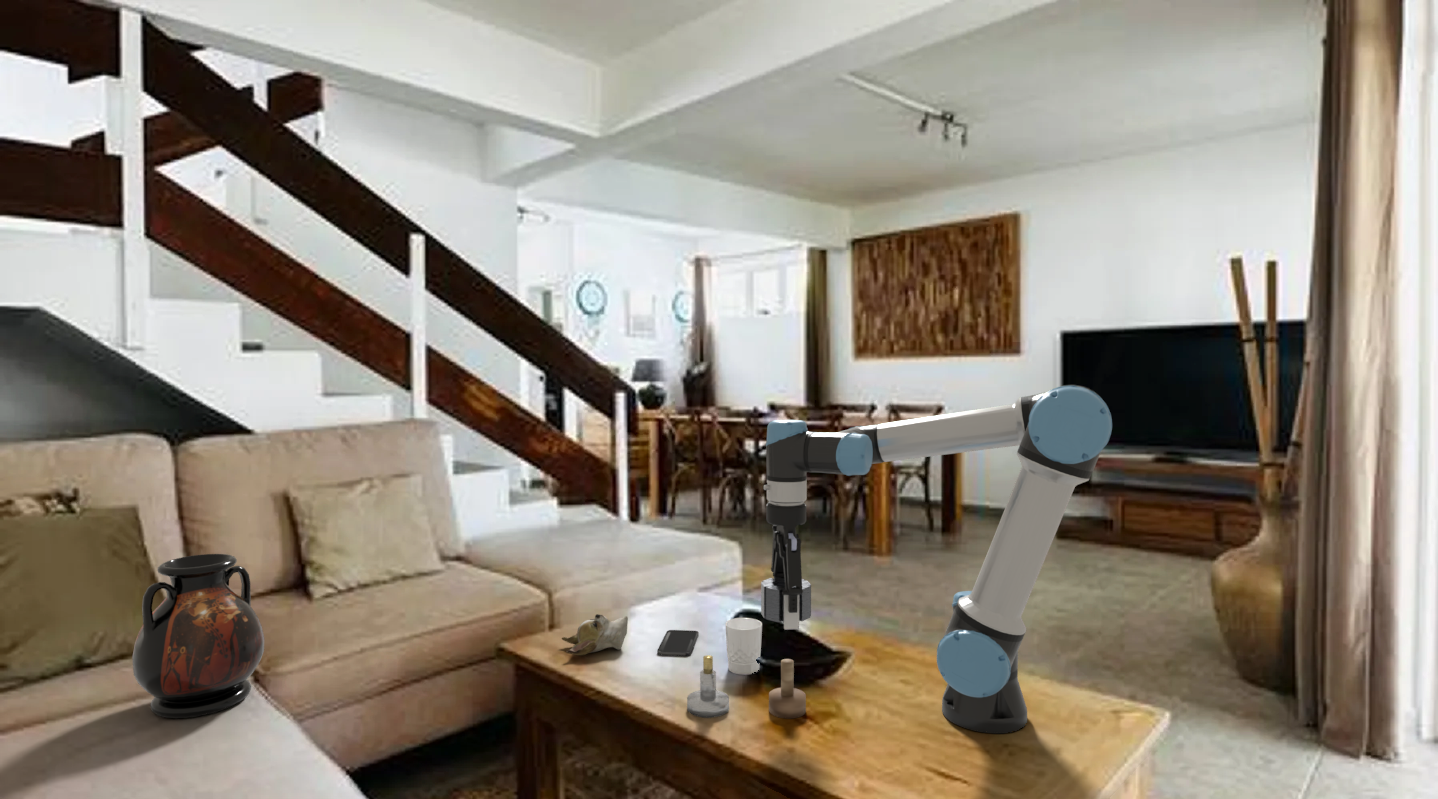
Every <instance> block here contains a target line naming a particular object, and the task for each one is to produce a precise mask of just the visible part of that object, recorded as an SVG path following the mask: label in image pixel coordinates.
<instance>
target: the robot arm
mask: <svg viewBox="0 0 1438 799" xmlns="http://www.w3.org/2000/svg"><path fill="white" fill-rule="evenodd" d="M807 426H808V424H807V422H806V421H805V420H798V419H774V420H772V421H770V422H769V423H768V425H767V427H766V428H767V430H766V443H765V447H766V448H765V450H766V457H765V458H766V483H767V484H764V485H763V490H764V491H766V500H767V501H768V502H767V503H766V505H765V506H766V507H765V509H766V510H765V512H766V514H765V515H766V519H765V520H766V522H767V523H768V524H770V525H772V549H771V550H772V551H771V568H770V571H771V572H772V576H773V577H772V578H774V577H784V579H785V591H783V592H782V595H784V623H783V629H784V631H785V630H787V631H788V630H799V629H800V621H799V595H800V594H802V593H803V589H802V579H803V573H802V555H801V554H802V553H801V546H802V540H801V537H799V533H797V529H796V527H797V526H802V525H805V523H806V522H807V505H806V503H805V502H806V500H807V499H808V498H807V497H808V494H807V493H808V492H807V491H808V486H807V485H808V482H807V481H808V480H807V473H818V474H819V473H821V474H832V475H833V474H835V475H846V476H848V477H851V476H865V475H867V474H868V473H869V472H870V470H871V467H872V465H873V464H875V465H877V464H882V463H888V462H896V461H904V460H912V459H919V458H920V459H921V458H927V457H928V458H929V457H936V456H944V455H945V456H946V455H954V454H960V453H967V452H968V453H969V452H976V451H984V450H985V451H986V450H992V449H993V450H994V449H1001V448H1002V449H1003V448H1008V447H1016V446H1017V447H1018V449H1017V451H1016V455H1017V457H1018V459H1019V461H1020V465H1021V468H1020V470H1019V472H1018V475H1017V477H1016V480H1015V482H1014V485H1013V488H1012V490H1011V493H1010V496H1009V497H1008V501H1007V503H1006V505H1005V508H1004V511H1003V512H1002V515H1001V517H1000V520H999V523H998V525H997V527H996V530H995V533H994V536H993V537H992V541H990V545H989V548H988V551H987V553H986V556H985V558H984V560H983V563H982V565H981V567H980V570H979V573H978V576H977V578H976V581H975V583H974V585H973V588H972V590H963V591H958V592H956V593H954V595H953V599H952V603H951V607H952V615H951V618H950V619H949V622H948V626H947V627H946V630H945V632H944V635H943V637H942V638H941V639H940V641H939V643H938V644H937V648H936V666H937V669H938V671H939V673H940V675H941V677H942V678H943V680H944V681H945V683H946V684H947V685H946V687H945V690H944V693H943V695H942V699H941V700H942V701H941V711H942V715H943V716H944V717H945V718H946V719H947V720H948V721H949V722H951V723H952V724H955V725H957V726H959V727H961V728H963V729H967V730H970V731H973V732H980V733H987V734H1009V733H1008V732H1010V733H1013V732H1012V731H1015V732H1017V730H1018V731H1020V730H1021V729H1020V728H1022V727H1023V728H1025V727H1026V725H1027V724H1028V707H1027V705H1026V701H1025V698H1024V694H1023V691H1022V689H1021V685H1020V682H1019V678H1018V676H1019V675H1018V674H1019V673H1018V671H1019V667H1018V666H1019V664H1018V663H1019V662H1018V661H1019V649H1020V646H1021V644H1022V641H1023V639H1024V637H1025V635H1026V632H1027V626H1026V625H1025V621H1024V620H1023V618H1022V616H1023V613H1024V611H1025V608H1026V606H1027V604H1028V602H1029V598H1030V595H1031V594H1032V591H1033V589H1034V587H1035V585H1036V582H1037V579H1038V577H1039V575H1040V572H1041V570H1042V568H1043V566H1044V562H1045V560H1046V558H1047V556H1048V553H1049V550H1050V548H1051V546H1052V543H1053V542H1054V538H1055V536H1056V533H1057V532H1058V530H1059V526H1060V524H1061V521H1062V519H1063V517H1064V514H1065V511H1066V509H1067V507H1068V504H1069V502H1070V500H1071V498H1072V495H1073V492H1074V490H1075V487H1077V486H1078V485H1081V484H1083V483H1086V482H1089V480H1090V479H1091V476H1092V474H1093V471H1094V470H1095V467H1096V465H1097V462H1098V460H1099V458H1100V455H1101V453H1102V451H1103V450H1104V448H1105V447H1106V446H1107V444H1108V443H1109V441H1110V438H1111V435H1112V430H1113V419H1112V413H1111V412H1110V409H1109V406H1108V405H1107V403H1106V402H1105V401H1104V400H1103V398H1102V397H1101V396H1100V395H1099V394H1098V393H1097V392H1095V391H1094V390H1093V389H1090V387H1087V386H1083V385H1079V384H1078V385H1077V384H1064V385H1060V386H1057V387H1055V388H1052V389H1050V390H1048V391H1043V392H1041V393H1036V394H1032V395H1027V396H1026V395H1025V396H1020V397H1018V398H1017V399H1016V400H1015V402H1014V403H1011V404H1005V405H1003V404H1002V405H998V406H992V407H991V406H990V407H983V408H979V409H977V408H976V409H971V410H963V411H957V412H950V413H943V414H938V415H930V416H924V417H923V416H922V417H917V418H911V419H910V418H909V419H903V420H902V419H901V420H897V421H890V422H883V423H879V424H869V425H857V426H851V427H849V428H848V429H845V430H840V431H838V432H822V431H821V432H820V431H819V432H817V431H812V430H811V431H809V430H808V427H807ZM1026 723H1027V724H1026ZM1025 724H1026V725H1025ZM1024 726H1025V727H1024ZM1023 728H1022V729H1023ZM1019 729H1020V730H1019Z"/></svg>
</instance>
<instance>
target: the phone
mask: <svg viewBox="0 0 1438 799" xmlns="http://www.w3.org/2000/svg"><path fill="white" fill-rule="evenodd" d="M699 634H700V633H699V631H697V630H685V629H681V630H680V629H669V630H667V631H666V633H665V635H664V636H663V638H662V640H661V642H660V644H659V646H658V648H657V654H656V655H658V656H662V657H663V656H667V657H668V656H669V657H690V656H692V654H693V652H694V649H695V646H696V643H697V640H698V638H699Z"/></svg>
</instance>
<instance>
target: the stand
mask: <svg viewBox="0 0 1438 799" xmlns="http://www.w3.org/2000/svg"><path fill="white" fill-rule="evenodd" d="M794 662H795V660H793V659H791V658H784V659H781V660H780V687H776V688H774V689H772V690H770V691H769V692H768V711H769V713H770V714H771V715H772V716H773V717H777V718H780V719H787V720H788V719H797V718H800V717H802V716H804V715H805V714H806V711H807V710H806V709H807V707H806V706H807V704H806V703H807V701H806V700H807V698H806V697H807V696H806V695H807V694H806V693H805V692H804V691H803V690H802V689H798V688H796V687H794V686H795V685H794V682H795V681H794V678H795V677H794V675H795V674H794V673H795V668H794V666H795V665H794V664H795V663H794Z"/></svg>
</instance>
